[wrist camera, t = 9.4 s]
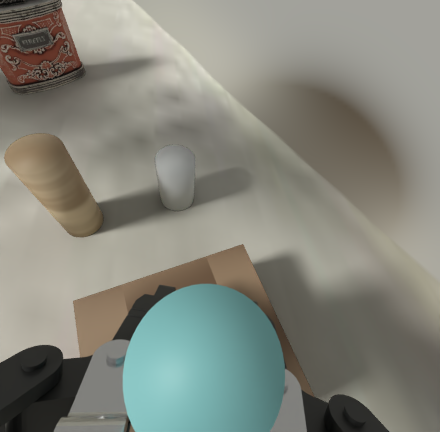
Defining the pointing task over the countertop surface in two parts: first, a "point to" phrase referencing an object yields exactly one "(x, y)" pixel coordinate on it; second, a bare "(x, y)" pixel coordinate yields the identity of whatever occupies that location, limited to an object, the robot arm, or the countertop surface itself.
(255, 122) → the countertop surface
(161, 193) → the grey pin
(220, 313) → the teal pin
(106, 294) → the walnut block
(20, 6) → the lighter
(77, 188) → the beech pin
